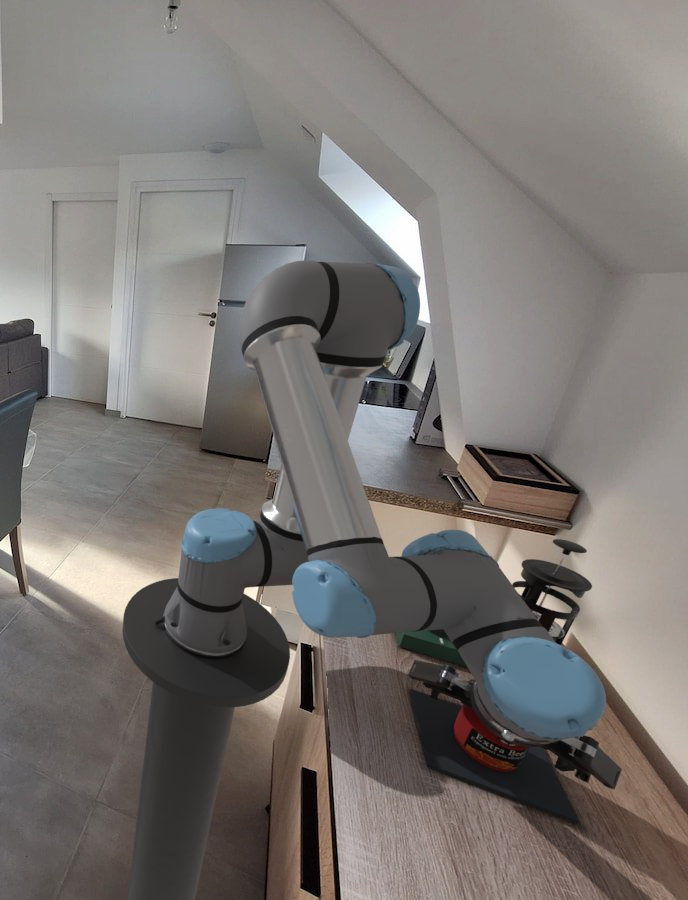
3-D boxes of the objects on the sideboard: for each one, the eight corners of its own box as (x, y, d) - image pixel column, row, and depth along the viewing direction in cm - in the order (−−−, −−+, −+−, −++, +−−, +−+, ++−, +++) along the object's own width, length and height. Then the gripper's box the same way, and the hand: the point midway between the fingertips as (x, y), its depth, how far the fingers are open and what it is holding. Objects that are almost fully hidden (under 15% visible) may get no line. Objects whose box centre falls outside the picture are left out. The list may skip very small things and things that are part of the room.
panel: (399, 646, 85) (404, 633, 84) (391, 613, 93) (395, 601, 92) (478, 670, 80) (484, 656, 79) (462, 633, 89) (468, 620, 87)
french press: (561, 679, 79) (622, 568, 71) (492, 655, 84) (542, 549, 75) (543, 637, 88) (595, 536, 80) (482, 618, 93) (525, 520, 85)
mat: (427, 767, 64) (428, 764, 63) (409, 691, 75) (410, 688, 75) (577, 824, 57) (579, 821, 57) (532, 732, 69) (534, 729, 69)
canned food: (459, 759, 64) (487, 702, 60) (445, 714, 71) (469, 660, 67) (528, 784, 61) (562, 726, 57) (506, 734, 68) (535, 679, 64)
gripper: (376, 663, 57) (384, 688, 71) (690, 840, 39) (616, 825, 54) (401, 611, 58) (404, 646, 73) (715, 760, 41) (636, 766, 55)
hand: (494, 722), depth 63 cm, fingers open, 13 cm apart
